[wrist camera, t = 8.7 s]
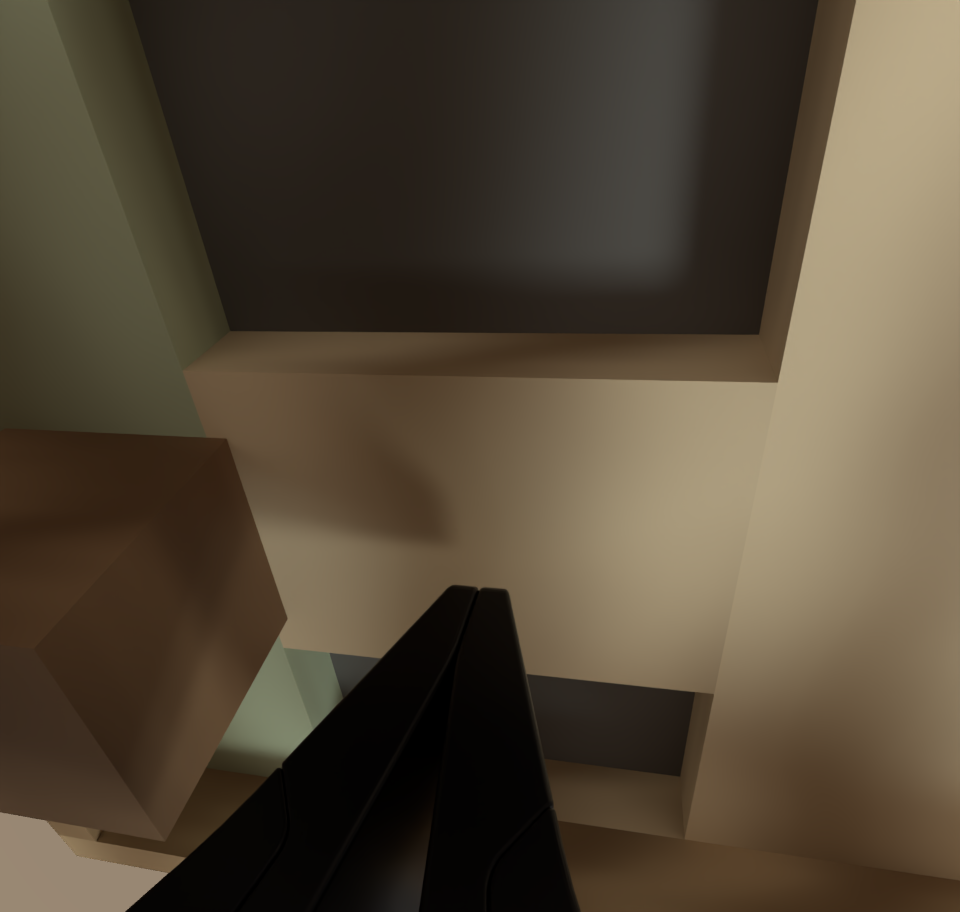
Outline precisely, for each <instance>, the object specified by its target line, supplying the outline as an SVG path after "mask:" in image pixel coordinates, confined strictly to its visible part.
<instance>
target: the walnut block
mask: <svg viewBox="0 0 960 912" xmlns="http://www.w3.org/2000/svg"><path fill="white" fill-rule="evenodd" d="M287 620H288V618H287V615H286V612H285V609H284V606H283V603H282V600H281V597H280V594H279V591H278V588H277V585H276V583H275V580H274V577H273V574H272V571H271V568H270V565H269V562H268V559H267V556H266V553H265V550H264V547H263V544H262V541H261V538H260V535H259V532H258V529H257V527H256V524H255V521H254V518H253V515H252V512H251V509H250V506H249V503H248V500H247V497H246V494H245V491H244V488H243V485H242V482H241V479H240V476H239V474H238V471H237V468H236V465H235V462H234V459H233V456H232V453H231V450H230V447H229V444H228V441H227V439H226V438H204V437H182V436H161V435H139V434H118V433H96V432H75V431H53V430H31V429H10V428H5V429H3V430H2V431H0V812H2V813H8V814H13V815H19V816H25V817H30V818H36V819H41V820H47V821H52V822H58V823H64V824H69V825H75V826H80V827H86V828H92V829H97V830H103V831H108V832H114V833H120V834H125V835H131V836H136V837H142V838H148V839H153V840H159V841H164V842H165V841H166V839H167V838H168V836H169V834H170V832H171V830H172V828H173V827H174V825H175V823H176V821H177V819H178V818H179V816H180V814H181V812H182V810H183V808H184V807H185V805H186V803H187V801H188V799H189V798H190V796H191V794H192V792H193V790H194V788H195V787H196V785H197V783H198V781H199V779H200V778H201V776H202V774H203V772H204V770H205V768H206V767H207V765H208V763H209V761H210V759H211V758H212V756H213V754H214V752H215V750H216V749H217V747H218V745H219V743H220V741H221V739H222V738H223V736H224V734H225V732H226V730H227V729H228V727H229V725H230V723H231V721H232V719H233V718H234V716H235V714H236V712H237V710H238V709H239V707H240V705H241V703H242V701H243V699H244V698H245V696H246V694H247V692H248V690H249V689H250V687H251V685H252V683H253V681H254V679H255V678H256V676H257V674H258V672H259V670H260V669H261V667H262V665H263V663H264V661H265V659H266V658H267V656H268V654H269V652H270V650H271V649H272V647H273V645H274V643H275V641H276V639H277V638H278V636H279V634H280V632H281V630H282V629H283V627H284V625H285V623H286V621H287Z"/></svg>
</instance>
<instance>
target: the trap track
mask: <svg viewBox="0 0 960 912" xmlns="http://www.w3.org/2000/svg"><path fill="white" fill-rule="evenodd" d="M5 428H10V429H31V430H53V431H75V432H96V433H118V434H139V435H161V436H182V437H204V438H226V439H227V441H228V444H229V447H230V450H231V453H232V456H233V459H234V462H235V465H236V468H237V471H238V474H239V476H240V479H241V482H242V485H243V488H244V491H245V494H246V497H247V500H248V503H249V506H250V509H251V512H252V515H253V518H254V521H255V524H256V527H257V529H258V532H259V535H260V538H261V541H262V544H263V547H264V550H265V553H266V556H267V559H268V562H269V565H270V568H271V571H272V574H273V577H274V580H275V583H276V585H277V588H278V591H279V594H280V597H281V600H282V603H283V606H284V609H285V612H286V615H287V618H288V620H287V621H286V623H285V625H284V627H283V629H282V630H281V632H280V634H279V636H278V638H277V639H276V641H275V643H274V645H273V647H272V649H271V650H270V652H269V654H268V656H267V658H266V659H265V661H264V663H263V665H262V667H261V669H260V670H259V672H258V674H257V676H256V678H255V679H254V681H253V683H252V685H251V687H250V689H249V690H248V692H247V694H246V696H245V698H244V699H243V701H242V703H241V705H240V707H239V709H238V710H237V712H236V714H235V716H234V718H233V719H232V721H231V723H230V725H229V727H228V729H227V730H226V732H225V734H224V736H223V738H222V739H221V741H220V743H219V745H218V747H217V749H216V750H215V752H214V754H213V756H212V758H211V759H210V761H209V763H208V765H207V767H206V768H205V770H204V772H203V774H202V776H201V778H200V779H199V781H198V783H197V785H196V787H195V788H194V790H193V792H192V794H191V796H190V798H189V799H188V801H187V803H186V805H185V807H184V808H183V810H182V812H181V814H180V816H179V818H178V819H177V821H176V823H175V825H174V827H173V828H172V830H171V832H170V834H169V836H168V838H167V839H166V841H165V842H164V841H159V840H153V839H148V838H142V837H136V836H131V835H125V834H120V833H114V832H108V831H103V830H97V829H92V828H86V827H80V826H75V825H69V824H64V823H58V822H52V821H47V820H46V821H47V822H48V823H49V824H50V825H51V827H52V828H53V829H54V830H55V831H56V832H57V833H58V835H59V836H60V837H61V838H62V839H63V840H64V842H66V844H67V845H68V846H69V847H70V848H71V850H72V851H73V852H74V853H75V854H76V855H77V856H81V857H87V858H92V859H97V860H102V861H108V862H113V863H118V864H124V865H129V866H134V867H140V868H145V869H151V870H156V871H161V872H167V873H169V872H171V871H172V870H173V869H174V868H175V867H176V866H177V865H178V864H180V863H181V862H182V861H183V860H184V859H185V858H186V857H187V856H188V855H189V854H190V853H192V852H193V851H194V850H195V849H196V848H197V847H198V846H199V845H200V844H201V843H202V842H203V841H205V840H206V839H207V838H208V837H209V836H210V835H211V834H212V833H213V832H214V831H215V830H216V829H218V828H219V827H220V826H221V825H222V824H223V823H224V822H225V821H226V820H227V819H228V818H229V817H230V816H231V815H232V814H233V813H234V812H235V811H236V810H237V809H238V808H239V807H240V806H241V805H242V804H243V803H244V802H245V801H246V800H247V799H248V798H249V797H250V796H251V795H252V794H253V793H254V792H255V791H256V789H257V788H258V787H259V786H260V785H261V784H262V783H263V782H264V781H265V780H266V779H267V778H268V777H269V776H270V775H271V774H272V773H273V771H274V770H275V769H276V768H282V762H283V761H284V760H285V759H286V758H287V757H288V756H289V755H290V754H291V753H292V752H293V751H294V750H295V749H296V748H297V746H298V745H299V744H300V743H301V742H302V741H303V740H304V739H305V738H306V737H307V736H308V735H309V734H310V733H311V732H312V731H313V730H314V729H315V727H316V726H317V725H318V724H319V723H320V722H321V721H322V720H323V719H324V718H325V717H326V716H327V715H328V714H329V713H330V712H331V711H332V709H333V708H334V707H335V706H336V705H337V704H338V703H339V702H340V701H341V700H342V699H343V698H344V697H345V696H346V695H347V694H348V693H349V692H350V690H351V689H352V688H353V687H354V686H355V685H356V684H357V683H358V682H359V681H360V680H361V679H362V678H363V677H364V676H365V675H366V674H367V672H368V671H369V670H370V669H371V668H372V667H373V666H374V665H375V664H376V663H377V662H378V661H379V660H380V659H381V658H382V657H383V656H384V655H385V653H386V652H387V651H388V650H389V649H390V648H391V647H392V646H393V645H394V644H395V643H396V642H397V641H398V640H399V639H400V638H401V637H402V635H403V634H404V633H405V632H406V631H407V630H408V629H409V628H410V627H411V626H412V625H413V624H414V623H415V622H416V621H417V620H418V619H419V618H420V616H421V615H422V614H423V613H424V612H425V611H426V610H427V609H428V608H429V607H430V606H431V605H432V604H433V603H434V602H435V601H436V600H437V598H438V597H439V596H440V595H441V594H442V593H443V592H444V591H445V590H446V589H447V588H448V587H449V586H451V585H466V586H475V587H477V588H479V590H480V589H481V588H483V587H490V588H502V589H506V590H508V592H509V594H510V599H511V603H512V608H513V613H514V618H515V622H516V627H517V632H518V636H519V641H520V646H521V651H522V655H523V660H524V665H525V670H526V674H527V679H528V684H529V688H530V693H531V698H532V703H533V707H534V712H535V717H536V721H537V726H538V731H539V736H540V740H541V745H542V750H543V754H544V759H545V764H546V769H547V773H548V778H549V783H550V788H551V792H552V797H553V802H554V809H555V811H556V814H557V819H558V824H559V829H560V833H561V838H562V843H563V847H564V851H565V855H566V859H567V863H568V867H569V871H570V875H571V879H572V883H573V887H574V891H575V894H576V897H577V900H578V903H579V907H580V910H581V912H960V0H0V431H2V430H3V429H5Z"/></svg>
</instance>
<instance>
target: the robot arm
mask: <svg viewBox="0 0 960 912" xmlns="http://www.w3.org/2000/svg"><path fill="white" fill-rule="evenodd" d="M126 912H581V910H580V907H579V903H578V900H577V897H576V894H575V891H574V887H573V883H572V879H571V875H570V871H569V867H568V863H567V859H566V855H565V851H564V847H563V843H562V838H561V833H560V829H559V824H558V819H557V814H556V811H555V809H554V802H553V797H552V792H551V788H550V783H549V778H548V773H547V769H546V764H545V759H544V754H543V750H542V745H541V740H540V736H539V731H538V726H537V721H536V717H535V712H534V707H533V703H532V698H531V693H530V688H529V684H528V679H527V674H526V670H525V665H524V660H523V655H522V651H521V646H520V641H519V636H518V632H517V627H516V622H515V618H514V613H513V608H512V603H511V599H510V594H509V592H508V590H506V589H502V588H490V587H483V588H481V589H480V590H479V588H477V587H475V586H466V585H451V586H449V587H448V588H447V589H446V590H445V591H444V592H443V593H442V594H441V595H440V596H439V597H438V598H437V600H436V601H435V602H434V603H433V604H432V605H431V606H430V607H429V608H428V609H427V610H426V611H425V612H424V613H423V614H422V615H421V616H420V618H419V619H418V620H417V621H416V622H415V623H414V624H413V625H412V626H411V627H410V628H409V629H408V630H407V631H406V632H405V633H404V634H403V635H402V637H401V638H400V639H399V640H398V641H397V642H396V643H395V644H394V645H393V646H392V647H391V648H390V649H389V650H388V651H387V652H386V653H385V655H384V656H383V657H382V658H381V659H380V660H379V661H378V662H377V663H376V664H375V665H374V666H373V667H372V668H371V669H370V670H369V671H368V672H367V674H366V675H365V676H364V677H363V678H362V679H361V680H360V681H359V682H358V683H357V684H356V685H355V686H354V687H353V688H352V689H351V690H350V692H349V693H348V694H347V695H346V696H345V697H344V698H343V699H342V700H341V701H340V702H339V703H338V704H337V705H336V706H335V707H334V708H333V709H332V711H331V712H330V713H329V714H328V715H327V716H326V717H325V718H324V719H323V720H322V721H321V722H320V723H319V724H318V725H317V726H316V727H315V729H314V730H313V731H312V732H311V733H310V734H309V735H308V736H307V737H306V738H305V739H304V740H303V741H302V742H301V743H300V744H299V745H298V746H297V748H296V749H295V750H294V751H293V752H292V753H291V754H290V755H289V756H288V757H287V758H286V759H285V760H284V761H283V762H282V768H276V769H275V770H274V771H273V773H272V774H271V775H270V776H269V777H268V778H267V779H266V780H265V781H264V782H263V783H262V784H261V785H260V786H259V787H258V788H257V789H256V791H255V792H254V793H253V794H252V795H251V796H250V797H249V798H248V799H247V800H246V801H245V802H244V803H243V804H242V805H241V806H240V807H239V808H238V809H237V810H236V811H235V812H234V813H233V814H232V815H231V816H230V817H229V818H228V819H227V820H226V821H225V822H224V823H223V824H222V825H221V826H220V827H219V828H218V829H216V830H215V831H214V832H213V833H212V834H211V835H210V836H209V837H208V838H207V839H206V840H205V841H203V842H202V843H201V844H200V845H199V846H198V847H197V848H196V849H195V850H194V851H193V852H192V853H190V854H189V855H188V856H187V857H186V858H185V859H184V860H183V861H182V862H181V863H180V864H178V865H177V866H176V867H175V868H174V869H173V870H172V871H171V872H169V873H168V874H167V875H166V876H165V877H164V878H163V879H162V880H161V881H159V882H158V883H157V884H156V885H155V886H154V887H153V888H151V889H150V890H149V891H148V892H147V893H146V894H145V895H143V896H142V897H141V898H140V899H139V900H138V901H137V902H136V903H135V904H134V905H132V906H131V907H130V908H129V909H128V910H127V911H126Z"/></svg>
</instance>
